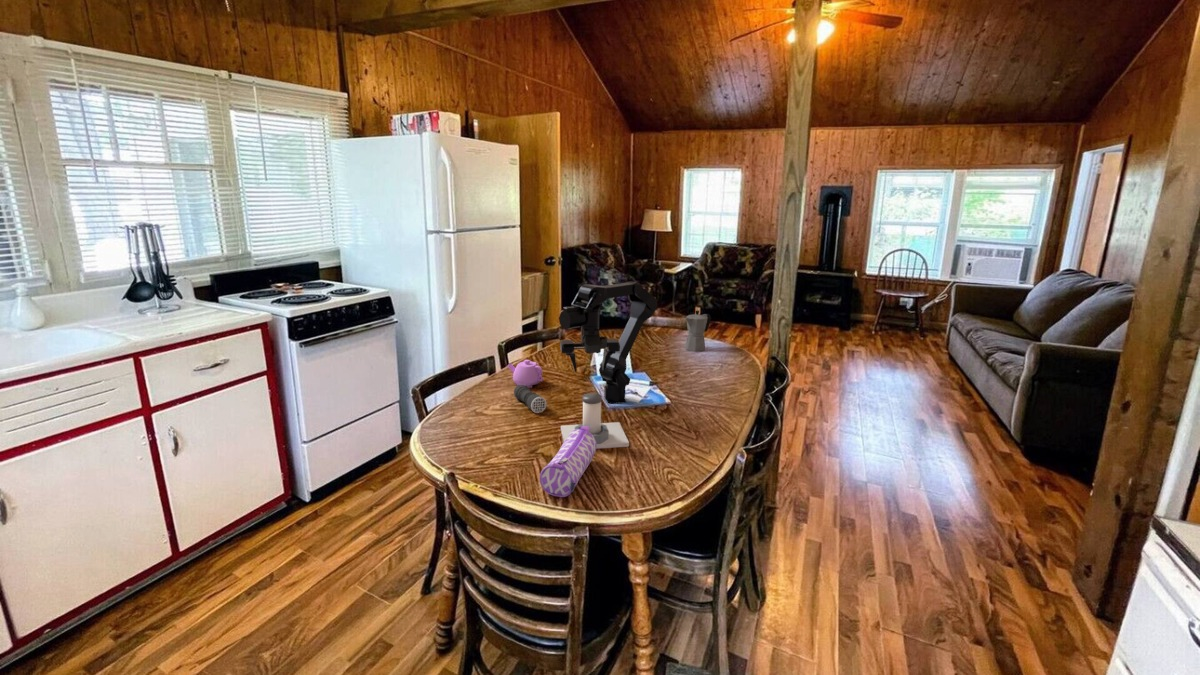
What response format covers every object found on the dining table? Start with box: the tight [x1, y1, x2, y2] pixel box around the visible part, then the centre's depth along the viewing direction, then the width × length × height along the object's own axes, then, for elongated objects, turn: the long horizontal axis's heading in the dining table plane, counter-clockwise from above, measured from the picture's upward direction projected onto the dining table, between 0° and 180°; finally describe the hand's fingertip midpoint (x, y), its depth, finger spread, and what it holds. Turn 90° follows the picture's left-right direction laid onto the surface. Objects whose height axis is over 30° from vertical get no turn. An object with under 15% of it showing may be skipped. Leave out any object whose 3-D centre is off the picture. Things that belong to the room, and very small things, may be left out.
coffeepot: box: [684, 310, 712, 353], centre depth 248 cm, size 15×9×18 cm, turn 125°
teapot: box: [507, 359, 544, 389], centre depth 202 cm, size 10×15×9 cm
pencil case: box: [539, 426, 597, 498], centre depth 137 cm, size 22×9×10 cm, turn 166°
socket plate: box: [560, 421, 630, 450], centre depth 160 cm, size 18×14×4 cm
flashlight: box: [513, 385, 547, 414], centre depth 183 cm, size 15×5×5 cm, turn 32°
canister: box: [582, 392, 603, 435], centre depth 156 cm, size 5×5×12 cm
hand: (589, 371), depth 178 cm, fingers open, 9 cm apart
